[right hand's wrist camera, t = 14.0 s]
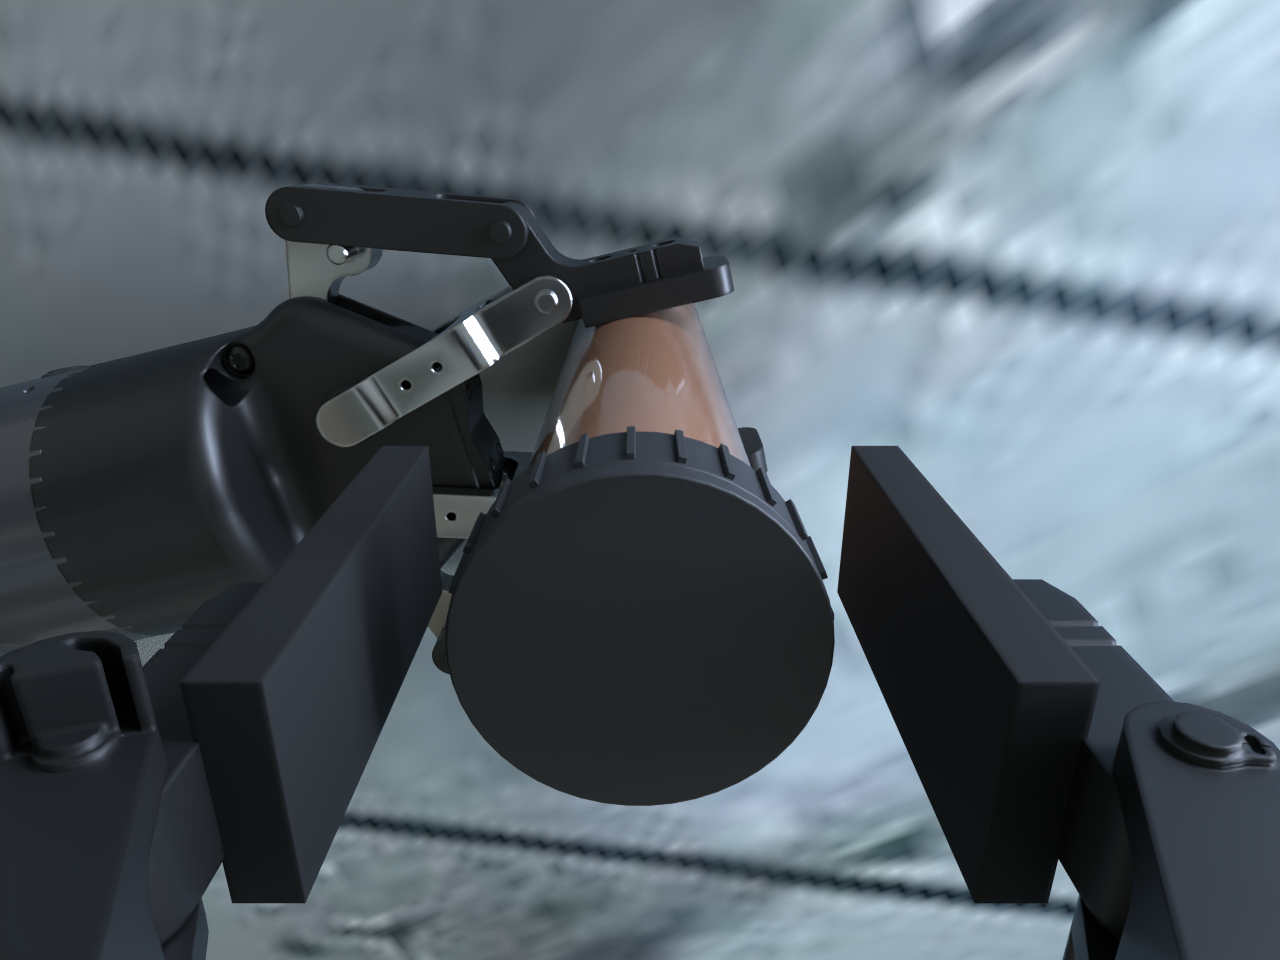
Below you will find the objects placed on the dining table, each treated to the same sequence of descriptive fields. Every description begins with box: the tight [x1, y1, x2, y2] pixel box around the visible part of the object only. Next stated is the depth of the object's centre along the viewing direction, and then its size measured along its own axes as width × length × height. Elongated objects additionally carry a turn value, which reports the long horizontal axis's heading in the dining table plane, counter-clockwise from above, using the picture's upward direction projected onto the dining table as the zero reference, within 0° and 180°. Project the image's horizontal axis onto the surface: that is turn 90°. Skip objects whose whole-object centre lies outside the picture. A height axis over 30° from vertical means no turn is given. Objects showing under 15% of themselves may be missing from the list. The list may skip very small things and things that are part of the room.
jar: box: [528, 303, 751, 468], centre depth 20 cm, size 4×4×18 cm
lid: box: [445, 426, 835, 806], centre depth 11 cm, size 5×5×2 cm
